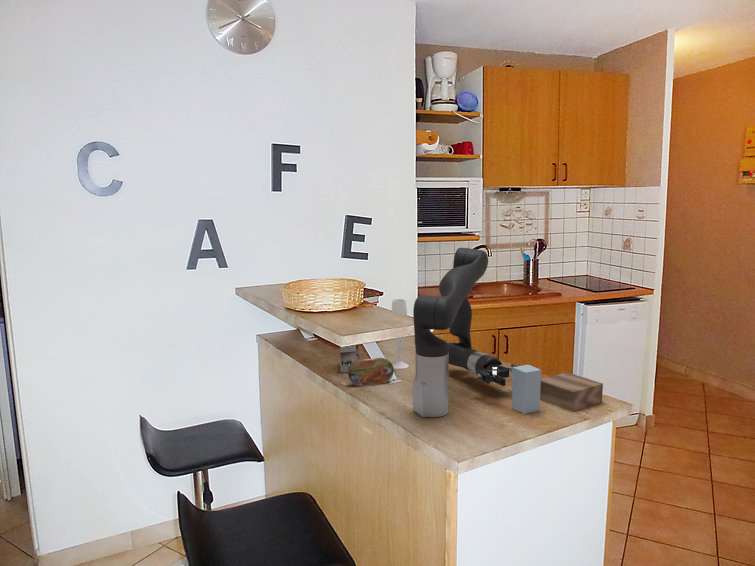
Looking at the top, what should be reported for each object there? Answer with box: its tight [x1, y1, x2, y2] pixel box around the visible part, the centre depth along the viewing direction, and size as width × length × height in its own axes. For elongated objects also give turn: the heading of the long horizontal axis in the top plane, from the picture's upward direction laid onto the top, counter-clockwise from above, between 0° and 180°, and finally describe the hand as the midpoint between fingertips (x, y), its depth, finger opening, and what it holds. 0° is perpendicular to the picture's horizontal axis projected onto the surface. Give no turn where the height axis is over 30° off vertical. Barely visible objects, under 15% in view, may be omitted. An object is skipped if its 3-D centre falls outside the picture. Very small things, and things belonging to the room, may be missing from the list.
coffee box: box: [339, 344, 360, 373], centre depth 202 cm, size 9×6×16 cm
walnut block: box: [540, 371, 604, 412], centre depth 169 cm, size 13×13×6 cm
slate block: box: [511, 364, 542, 415], centre depth 162 cm, size 6×6×12 cm
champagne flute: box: [391, 298, 410, 370], centre depth 203 cm, size 7×7×24 cm
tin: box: [347, 357, 395, 387], centre depth 186 cm, size 15×3×8 cm, turn 105°
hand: (516, 380), depth 166 cm, fingers open, 8 cm apart
